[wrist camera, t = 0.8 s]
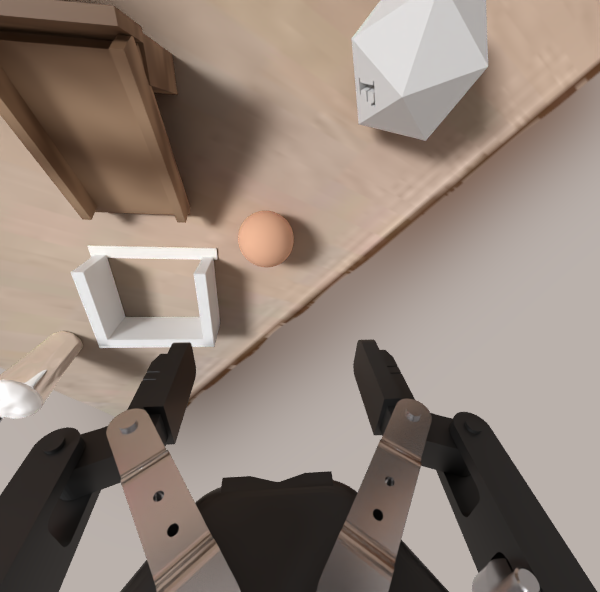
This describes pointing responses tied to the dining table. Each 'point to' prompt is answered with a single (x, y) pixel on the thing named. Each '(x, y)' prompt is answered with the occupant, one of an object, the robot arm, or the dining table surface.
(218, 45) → the dining table surface
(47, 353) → the milkshake
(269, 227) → the ball
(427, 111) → the die
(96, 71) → the ramp
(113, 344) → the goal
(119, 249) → the tape line
